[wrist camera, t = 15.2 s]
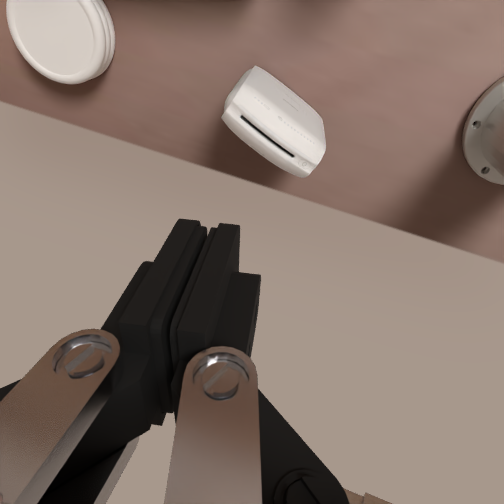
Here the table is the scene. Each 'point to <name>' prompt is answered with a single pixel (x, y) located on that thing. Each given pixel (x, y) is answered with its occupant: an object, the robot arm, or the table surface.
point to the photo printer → (275, 122)
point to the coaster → (63, 37)
